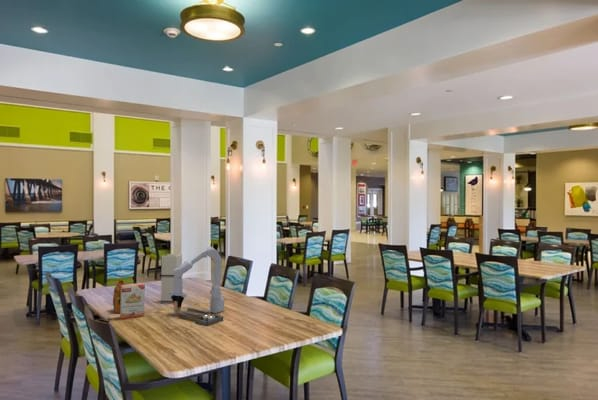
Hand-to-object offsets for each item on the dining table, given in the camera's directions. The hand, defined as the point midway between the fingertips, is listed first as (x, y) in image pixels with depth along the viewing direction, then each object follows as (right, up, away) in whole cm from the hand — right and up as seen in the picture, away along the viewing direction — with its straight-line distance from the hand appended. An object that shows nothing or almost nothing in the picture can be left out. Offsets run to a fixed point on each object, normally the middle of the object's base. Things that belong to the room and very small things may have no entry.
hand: (177, 306), depth 272 cm
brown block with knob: (0, -5, 0) cm, 5 cm away
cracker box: (-28, -5, -6) cm, 29 cm away
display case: (-15, -6, +34) cm, 38 cm away
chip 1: (+22, -3, -14) cm, 27 cm away
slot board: (+13, -5, -8) cm, 16 cm away
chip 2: (+26, -3, -17) cm, 31 cm away
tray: (+25, -5, -16) cm, 30 cm away
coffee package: (-41, -5, +7) cm, 42 cm away
